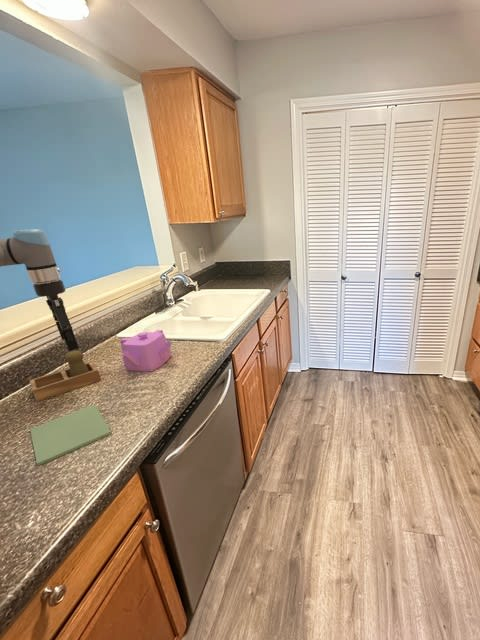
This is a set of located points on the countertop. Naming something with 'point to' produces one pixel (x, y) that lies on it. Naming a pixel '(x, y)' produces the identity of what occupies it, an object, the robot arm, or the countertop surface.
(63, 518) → the countertop surface
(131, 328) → the countertop surface
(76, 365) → the cork
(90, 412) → the drying mat
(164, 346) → the purple knobbed polyhedron
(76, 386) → the box
